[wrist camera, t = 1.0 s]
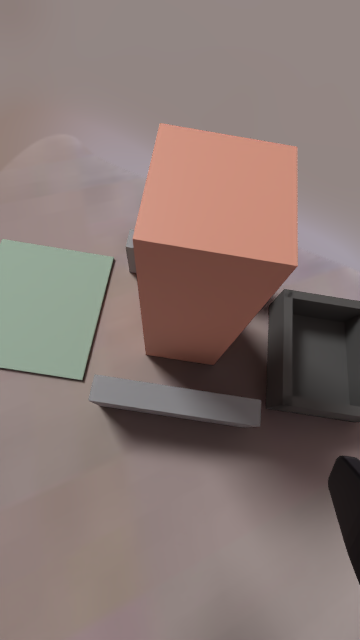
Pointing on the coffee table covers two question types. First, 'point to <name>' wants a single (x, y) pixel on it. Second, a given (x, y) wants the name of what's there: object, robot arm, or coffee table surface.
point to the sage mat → (49, 307)
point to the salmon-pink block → (212, 238)
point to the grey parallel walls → (173, 394)
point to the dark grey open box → (314, 356)
